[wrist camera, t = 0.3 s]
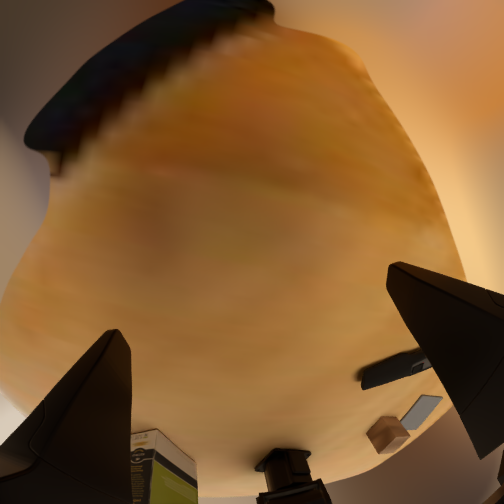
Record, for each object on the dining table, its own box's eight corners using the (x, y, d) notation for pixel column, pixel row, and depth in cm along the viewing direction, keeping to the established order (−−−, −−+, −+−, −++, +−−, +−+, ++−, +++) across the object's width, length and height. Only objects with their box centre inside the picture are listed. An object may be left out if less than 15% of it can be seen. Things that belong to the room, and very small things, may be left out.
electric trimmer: (355, 361, 28) (367, 376, 25) (445, 333, 30) (458, 343, 27) (351, 384, 29) (361, 399, 26) (438, 354, 31) (450, 365, 28)
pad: (415, 428, 35) (416, 429, 35) (392, 429, 33) (392, 430, 33) (442, 396, 34) (443, 397, 33) (421, 394, 32) (422, 395, 32)
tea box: (124, 472, 29) (112, 540, 15) (82, 438, 26) (57, 511, 12) (199, 462, 29) (202, 546, 15) (158, 426, 27) (145, 525, 12)
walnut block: (381, 433, 33) (393, 452, 28) (365, 433, 32) (378, 454, 27) (396, 416, 32) (410, 435, 28) (381, 416, 32) (396, 437, 27)
